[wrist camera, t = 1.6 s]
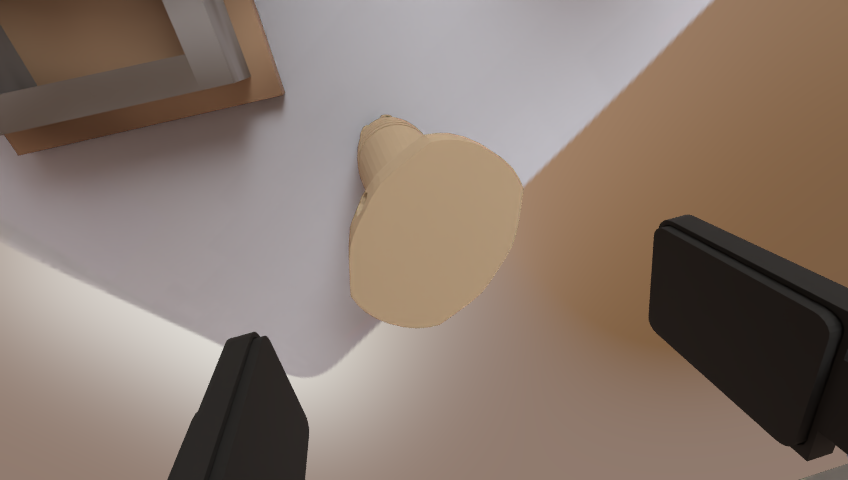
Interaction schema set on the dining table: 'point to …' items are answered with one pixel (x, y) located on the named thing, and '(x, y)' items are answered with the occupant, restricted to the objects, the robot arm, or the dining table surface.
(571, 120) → the dining table surface
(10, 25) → the socket
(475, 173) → the handle
